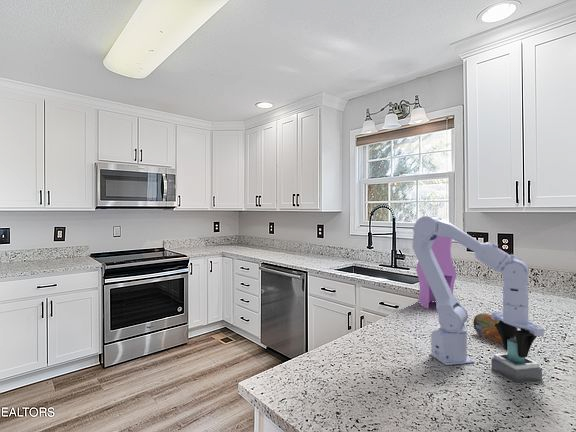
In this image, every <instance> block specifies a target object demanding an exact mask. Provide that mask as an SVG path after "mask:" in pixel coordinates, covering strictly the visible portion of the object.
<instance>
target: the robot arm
mask: <svg viewBox="0 0 576 432" xmlns="http://www.w3.org/2000/svg"><path fill="white" fill-rule="evenodd" d="M412 231H413V234H412V235H413V236H412V249H413V252H414V254H415V257H416V259H417V262H418V261H419V263H420V266H421V268H422V270H423V272H424V274H425V277H426V279H427V281H428V283H429V286H430V288H431V290H432V292H433V294H434V297H435V299H436V302H435V304H436V312H437V314H438V315H437V317H438V319H437V321H438V323H439V326H440V327H439V328H438V329H436V330H433V331H432V332H431V337H430V339H431V341H430V342H431V343H430V345H431V346H430V352H429V355H431V356H432V358H435V359H436V360H437V361H439V362H441V364H444V366H452V365H454V366H455V365H461V364H463V365H464V364H471V363H475V360H473V359H472V358H470V357H469V356H468V343H467V342H468V341H467V340H468V338H467V337H468V335H467V334H468V333H467V331H468V330H467V327H466V325H465V323H466V322H467V321H468V318H469V317H468V316H469V314H468V311H467V309H466V308H465V307H464V306H462V305H461V304H460V301H459V300H458V298H457V297H456V296H455V295H454V293H453V294H452V292H451V290H450V288H449V285H448V283H447V281H446V279H445V277H444V275H443V273H442V270H441V268H440V266H439V264H438V262H437V260H436V258H435V255H434V253H433V251H432V249H431V246H432V244H433V242H434V240H435V238H436V237H437V236H443V237H450V238H451V239H452V241H455V242H456V243H459V244H460V245H461V246H463V247H465V248H466V249H469V250H470V251H472V252H473V253H474V255H475V259H476V260H479V261H480V262H481V263H483V264H485V265H486V266H488V267H489V268H491V269H493V270H494V271H496V272H499V273H500V274H501V276H502V278H503V286H502V312H499V311H494V312H493V311H492V312H491V313H490V315H491V319H493V320H498V321H499V322H498V323H496V324H495V327H496V328H497V330H498V332H499V334H500V336H501V339H502V342H503V348H504V350H505V351H506V352H507V339H510V337H514V335H515V337H516V341H517V347H518V356H519V357H521V358H523V357H527V358H528V355H529V352H530V349H531V346H532V345H533V343H534V341H535V340H536V339H537V337H544V335H545V329H544V328H543V327H542V326H541V327H540V326H539V325H538V324H536V323H535V324H534V323H533V322H532V321H531V319H530V318H529V287H528V285H529V282H528V276H529V272H530V269H529V267H528V265H527V263H526V262H525V261H523V260H522V259H521V258H517V257H516V255H514V254H513V253H510V254H509V253H508V252H505V251H504V250H502V249H501V248H499V247H498V246H499V244H497V243H496V242H493V243H491V242H489V241H487V242H480V241H479V240H477V239H476V238H474V237H473V236H471V235H470V234H469V233H466V231H464V230H462V229H461V228H459V227H457V226H456V225H454V224H453V223H451V222H449V221H448V220H445V219H442V218H441V217H439V216H436V215H431V216H428V215H427V216H426V215H425V216H421V217H419V218H418V219H417V221H416V222H415V224H414V226H413V227H412ZM516 328H517V329H518V330H517V331H516Z"/></svg>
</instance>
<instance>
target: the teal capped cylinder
mask: <svg viewBox="0 0 576 432" xmlns="http://www.w3.org/2000/svg"><path fill="white" fill-rule="evenodd" d="M506 353H507V359H508V360H509V361H511V362H514V363H519V364H523V363H525V357H523V358H521V357H519V356H518V347H517V341H516V337H510V339H507V351H506Z"/></svg>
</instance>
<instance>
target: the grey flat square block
mask: <svg viewBox="0 0 576 432" xmlns="http://www.w3.org/2000/svg"><path fill="white" fill-rule="evenodd" d="M491 370H493V371H495V372H496V373H498V374H500V375H501V376H503V377H505V378H507V379H509V380H510V381H512V382H514V383H515V384H519V383H528V382H536V381H543V368H542V367H540V363H538V362H537V361H535V360H533V359H532V358H531V359H530V358H528V356H527V357H525V363H523V364H519V363H514V362H511V361H509V360H508V359H507V352H506V353H505V352H504V353H496V354H495V353H494V354H493V357H491Z"/></svg>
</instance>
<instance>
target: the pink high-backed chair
mask: <svg viewBox="0 0 576 432" xmlns="http://www.w3.org/2000/svg"><path fill="white" fill-rule="evenodd" d="M452 242H453V239H451V238H450V237H443V236H437V237H436V238H435V240H434V242H433V244H432V246H431V249H432V251H433V253H434V255H435V258H436V260H437V262H438V264H439V266H440V268H441V270H442V273H443V275H444V277H445V279H446V281H447V283H448V285H449V288H450V290H451V292H452V294H453V295H454V288H455V287H454V286H455V281H456V277H457V270H456V268H455V266H454V265H455V264H454V263H453V259H452V253H451V250H452V249H451V248H452ZM415 267H416V268H415V269H416V270H415V271H416V274H417V279H418V284H419V294H418V301H417V302H420V303H421V304H422V305H423V306H424V307H425V308H428V309H429V303H430V302H429V301H436V299H435V297H434V294H433V292H432V290H431V288H430V286H429V283H428V281H427V279H426V277H425V274H424V272H423V270H422V268H421V266H420V263H419V261H418V260H417V263H416V266H415ZM423 306H422V307H423ZM424 307H423V308H424ZM425 308H424V309H425Z"/></svg>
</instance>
